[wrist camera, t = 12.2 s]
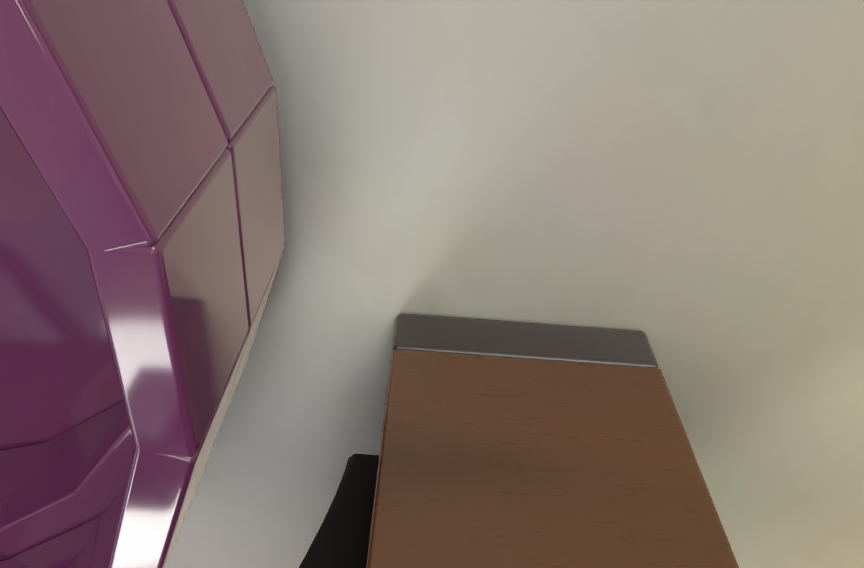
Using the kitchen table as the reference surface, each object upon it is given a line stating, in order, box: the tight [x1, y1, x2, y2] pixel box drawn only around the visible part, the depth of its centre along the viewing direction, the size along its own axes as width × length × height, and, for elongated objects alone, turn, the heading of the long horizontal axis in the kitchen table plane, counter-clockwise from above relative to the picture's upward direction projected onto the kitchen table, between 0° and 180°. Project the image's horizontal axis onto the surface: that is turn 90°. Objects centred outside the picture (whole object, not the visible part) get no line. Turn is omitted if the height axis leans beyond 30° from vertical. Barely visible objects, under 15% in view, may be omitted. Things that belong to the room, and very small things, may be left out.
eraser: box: [366, 314, 739, 568], centre depth 11 cm, size 6×4×5 cm
